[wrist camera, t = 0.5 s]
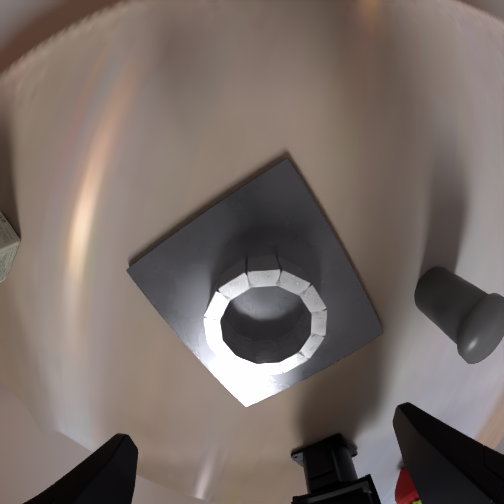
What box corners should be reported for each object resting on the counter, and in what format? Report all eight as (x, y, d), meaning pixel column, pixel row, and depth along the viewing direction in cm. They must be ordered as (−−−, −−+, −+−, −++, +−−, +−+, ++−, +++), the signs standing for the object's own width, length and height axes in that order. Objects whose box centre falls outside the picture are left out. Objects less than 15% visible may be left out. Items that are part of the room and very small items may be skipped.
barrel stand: (381, 328, 22) (398, 351, 18) (245, 402, 24) (245, 430, 20) (286, 158, 18) (295, 154, 15) (129, 267, 20) (108, 284, 17)
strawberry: (427, 451, 29) (449, 494, 19) (408, 474, 31) (425, 514, 21) (398, 460, 29) (418, 508, 19) (380, 482, 31) (395, 526, 21)
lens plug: (458, 294, 21) (510, 332, 14) (419, 326, 22) (465, 375, 14) (446, 250, 20) (509, 282, 13) (403, 284, 21) (459, 330, 13)
